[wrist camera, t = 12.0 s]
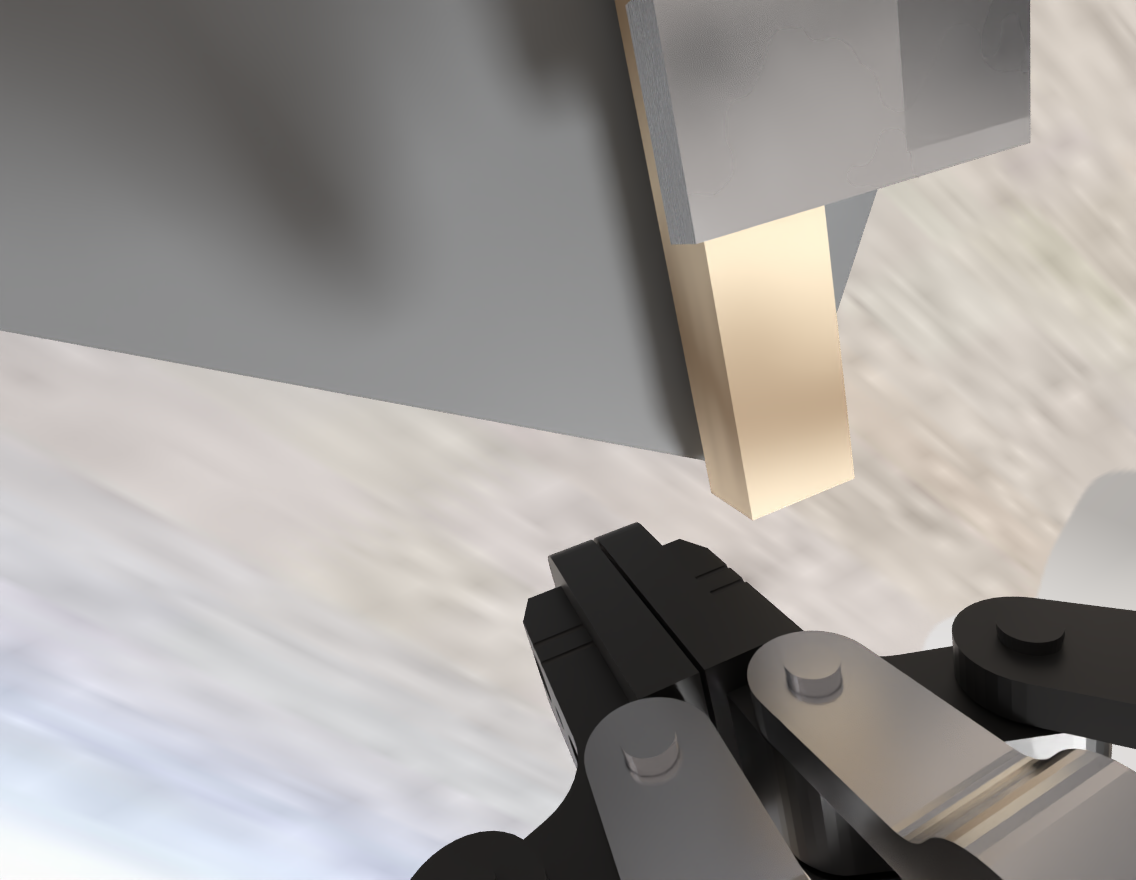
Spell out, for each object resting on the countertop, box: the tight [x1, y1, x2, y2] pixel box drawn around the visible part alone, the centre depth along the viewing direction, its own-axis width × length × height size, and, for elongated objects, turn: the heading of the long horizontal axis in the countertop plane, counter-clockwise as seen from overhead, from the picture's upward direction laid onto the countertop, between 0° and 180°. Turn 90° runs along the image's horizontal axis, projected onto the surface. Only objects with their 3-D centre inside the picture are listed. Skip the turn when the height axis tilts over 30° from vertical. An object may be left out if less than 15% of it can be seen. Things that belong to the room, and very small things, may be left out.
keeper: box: [625, 0, 1030, 245], centre depth 14 cm, size 4×8×5 cm, turn 105°
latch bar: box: [615, 0, 854, 520], centre depth 14 cm, size 21×4×3 cm, turn 15°
